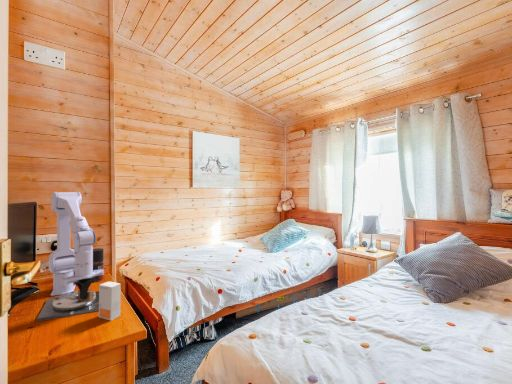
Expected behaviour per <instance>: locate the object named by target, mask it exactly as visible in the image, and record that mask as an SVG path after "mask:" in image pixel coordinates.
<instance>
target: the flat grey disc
mask: <svg viewBox="0 0 512 384" xmlns="http://www.w3.org/2000/svg"><path fill="white" fill-rule="evenodd" d="M95 292H96V291H94V290H91V289H88V291H87V299H84V300H83V299H80V290H79V289H78V290H74V291H73V292H69V293H65V294H61V295H57V296H55V297H54V298H55V299H54V300H53V309H55V310H59V311H67V310H74V309H79V308H82V307H85V306H88V305H90V304H92V303H93V302H94V301H95V300H96V293H95Z"/></svg>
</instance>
